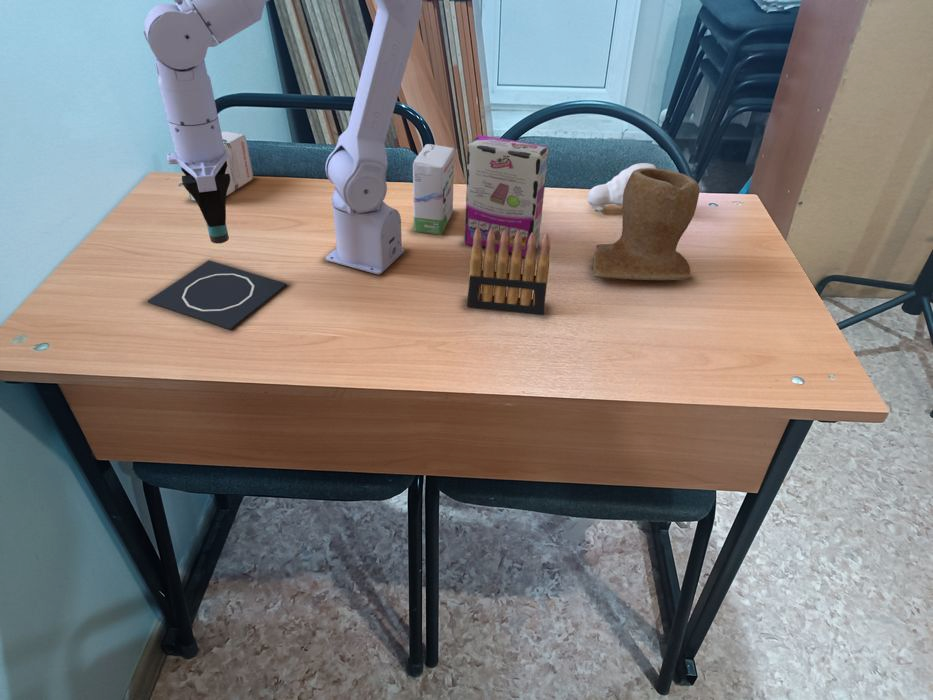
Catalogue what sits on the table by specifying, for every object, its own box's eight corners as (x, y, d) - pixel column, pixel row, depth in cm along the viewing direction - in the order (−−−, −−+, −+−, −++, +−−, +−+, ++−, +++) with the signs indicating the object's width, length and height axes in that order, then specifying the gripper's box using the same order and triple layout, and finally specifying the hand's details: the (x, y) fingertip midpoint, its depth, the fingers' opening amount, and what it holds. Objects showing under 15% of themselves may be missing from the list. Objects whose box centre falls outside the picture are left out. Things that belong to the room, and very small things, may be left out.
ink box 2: (442, 235, 105) (443, 166, 98) (412, 231, 106) (411, 162, 99) (453, 212, 112) (455, 146, 105) (426, 209, 113) (425, 142, 105)
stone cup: (675, 250, 104) (698, 160, 95) (695, 290, 95) (723, 195, 86) (581, 247, 104) (595, 156, 95) (592, 287, 95) (609, 191, 85)
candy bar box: (539, 245, 104) (551, 145, 94) (529, 260, 100) (541, 157, 90) (474, 231, 107) (479, 132, 97) (463, 244, 103) (466, 143, 93)
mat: (287, 285, 92) (286, 283, 92) (230, 330, 84) (230, 328, 84) (209, 261, 97) (208, 259, 96) (147, 302, 88) (147, 300, 88)
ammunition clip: (466, 307, 90) (469, 229, 82) (468, 299, 91) (471, 222, 84) (544, 315, 89) (554, 237, 81) (544, 307, 90) (554, 230, 83)
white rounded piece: (665, 171, 107) (593, 176, 107) (659, 218, 112) (590, 222, 112) (656, 156, 112) (586, 161, 112) (650, 202, 117) (583, 206, 117)
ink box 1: (189, 200, 112) (231, 176, 121) (214, 205, 111) (254, 180, 120) (178, 151, 107) (222, 129, 116) (203, 156, 105) (246, 134, 114)
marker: (232, 237, 89) (219, 175, 83) (220, 245, 87) (206, 182, 82) (218, 233, 90) (204, 171, 84) (206, 241, 88) (191, 178, 82)
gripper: (156, 101, 82) (182, 200, 91) (158, 142, 72) (186, 250, 80) (215, 97, 84) (234, 194, 93) (224, 136, 74) (245, 242, 82)
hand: (216, 219), depth 87 cm, fingers closed on marker, 2 cm apart
